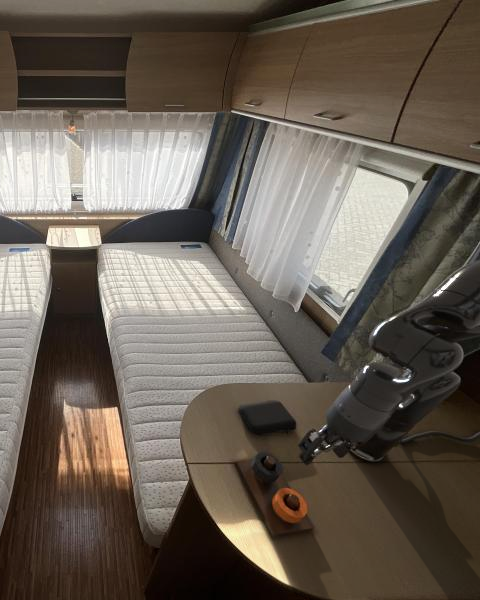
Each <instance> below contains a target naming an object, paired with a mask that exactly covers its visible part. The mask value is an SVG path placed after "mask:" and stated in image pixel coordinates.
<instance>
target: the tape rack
mask: <svg viewBox="0 0 480 600" xmlns="http://www.w3.org/2000/svg"><path fill="white" fill-rule="evenodd" d="M253 459H254V458H249V459H241V460H236V461H235V463H234V466H235V468H236V470H237V472H238V473H239V476H240V477H241V480H242V482H243V483H244V485H245V488H246V489H247V491H248V493H249V495H250V498H251V499H252V501H253V503H254V505H255V507H256V509H257V511H258V513H259V514H260V517H261V518H262V520H263V522H264V524H265V526H266V528H267V530H268V532H269V534H270V535H271V538H275V537H281V536H286V535H292V534H298V533H299V534H300V533H306V532H309V531H313V530H314V529H315V528H316V527H315V525H314V524H313V522H312V521H311V519H310V518H309V515H308V514H307V513H306V515H305V516H304V518H303V519H302V520H301V521H300V522H297V523H290V522H288V521H285V520H283V519H282V518H281V517H280V516H279V515H278V514H277V513H276V511H275V509H274V507H273V504H272V499H273V497H274V496H275V495H276V493H277V492H278V491H279V489H282V488H289V489H292V488H291V486H290V485H289V483H288V481H287V480H286V478H285V477H284V474H283V472H282V473H281V475H280V476H279V477H278V479H277V480H276V481H275V482H266V481H263V480H261V479H260V478H259V477H258V476H256V474H255V473H254V471H253V470H252V461H253ZM261 464H262V466H263V467H264V468H265V469H267V470H269V471H272V469H271V468H272V467H273V465H274V464H275V459H274V458H273V457H271V456H268V457H267V458H266V459H265V461H264V463H263V462H262V463H261ZM283 502H284V504H285V505H286V506H287V507H288V508H289V509H290V510H293V511H296V509H295V507H296V506H297V505H298V504H299V502H300V500H299V498H298V497H297V496H296V495H294V494H291V495H290V496H289V497H288V498H287V500H284V499H283Z"/></svg>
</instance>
